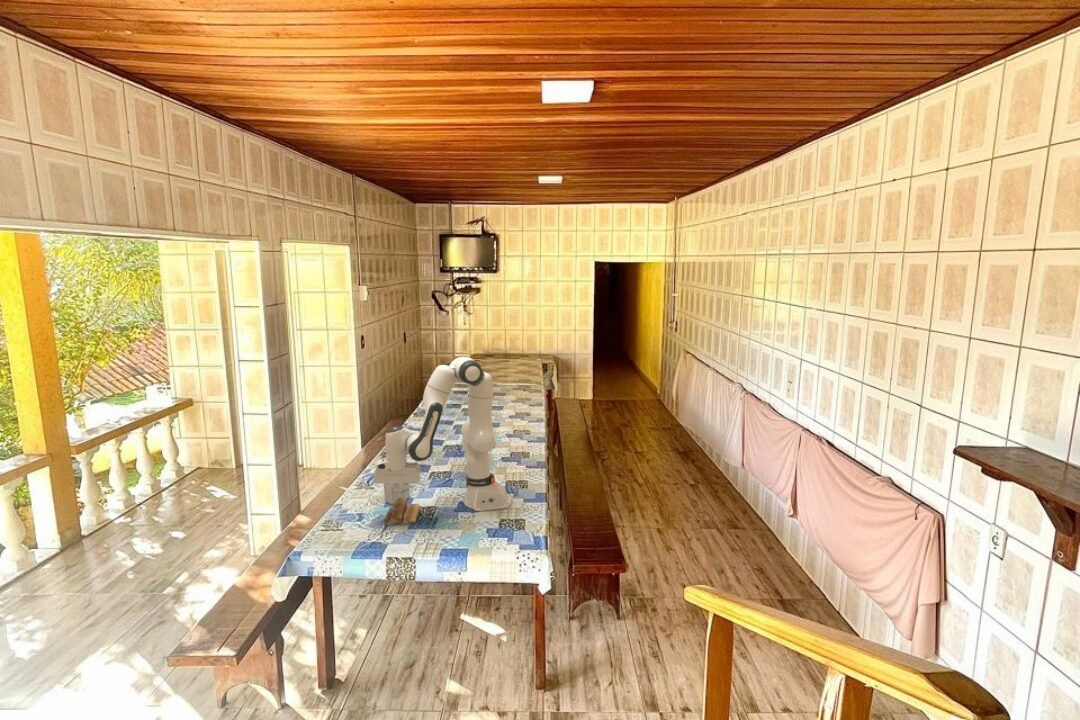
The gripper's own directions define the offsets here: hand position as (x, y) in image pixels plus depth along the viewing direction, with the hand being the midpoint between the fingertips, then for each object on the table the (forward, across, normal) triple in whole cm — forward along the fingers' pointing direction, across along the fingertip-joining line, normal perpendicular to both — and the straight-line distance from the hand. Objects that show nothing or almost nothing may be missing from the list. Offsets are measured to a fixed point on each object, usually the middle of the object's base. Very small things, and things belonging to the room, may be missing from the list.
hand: (397, 491), depth 248 cm
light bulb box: (+13, +5, -20) cm, 24 cm away
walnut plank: (+12, 0, 0) cm, 12 cm away
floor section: (+13, -2, 0) cm, 13 cm away
